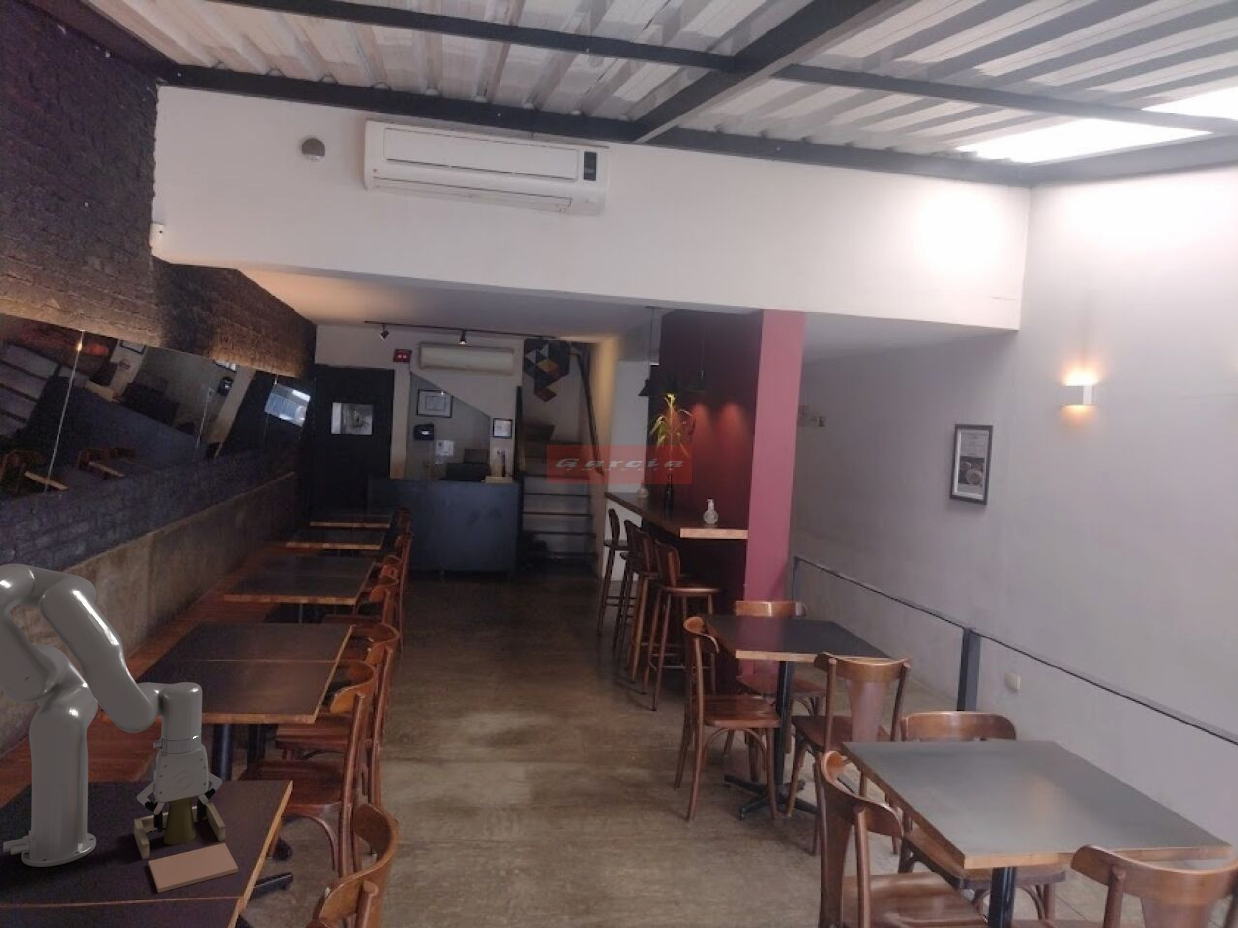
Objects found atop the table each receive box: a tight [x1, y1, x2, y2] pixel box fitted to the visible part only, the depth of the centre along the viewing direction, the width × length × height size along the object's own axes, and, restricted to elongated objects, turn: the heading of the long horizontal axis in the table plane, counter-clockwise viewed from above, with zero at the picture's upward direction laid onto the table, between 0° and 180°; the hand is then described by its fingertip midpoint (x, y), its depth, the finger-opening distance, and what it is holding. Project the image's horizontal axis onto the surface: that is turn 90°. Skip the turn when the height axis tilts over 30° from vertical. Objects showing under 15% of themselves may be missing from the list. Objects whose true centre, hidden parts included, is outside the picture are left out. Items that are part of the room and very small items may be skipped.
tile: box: [148, 842, 239, 894], centre depth 167 cm, size 14×12×1 cm
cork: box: [163, 797, 196, 846], centre depth 179 cm, size 6×6×11 cm
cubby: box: [133, 802, 226, 861], centre depth 180 cm, size 15×13×3 cm
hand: (179, 824), depth 179 cm, fingers open, 7 cm apart
